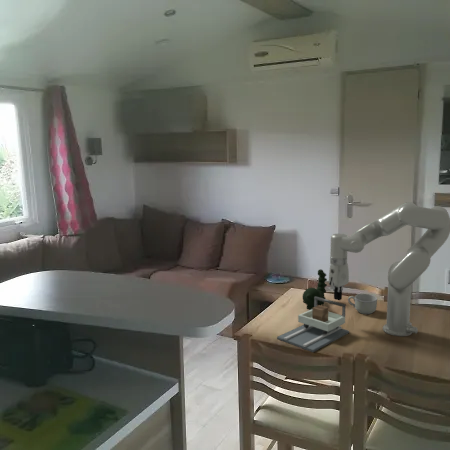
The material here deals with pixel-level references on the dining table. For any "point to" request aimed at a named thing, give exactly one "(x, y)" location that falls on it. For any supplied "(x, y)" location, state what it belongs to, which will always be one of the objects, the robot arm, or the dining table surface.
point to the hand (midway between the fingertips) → (337, 299)
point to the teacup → (364, 303)
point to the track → (311, 337)
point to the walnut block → (320, 313)
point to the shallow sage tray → (332, 322)
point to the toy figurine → (315, 291)
